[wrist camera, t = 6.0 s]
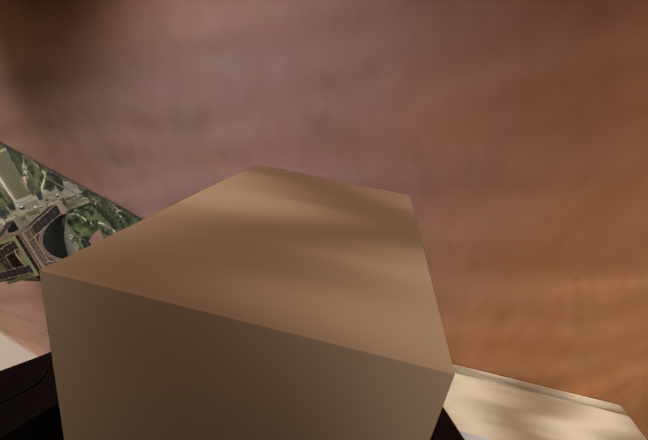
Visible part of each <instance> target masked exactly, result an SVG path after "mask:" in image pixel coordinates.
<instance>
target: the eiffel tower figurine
mask: <svg viewBox="0 0 648 440" xmlns="http://www.w3.org/2000/svg"><path fill="white" fill-rule="evenodd" d="M141 220H142V219H141V218H139V217H137V216H135V215H134V214H132V213H130V212H128V211H127V210H125V209H123V208H121V207H120V206H118V205H116V204H114V203H112V202H110V201H109V200H107V199H105V198H103V197H101V196H99V195H97V194H95V193H93V192H91V191H89V190H87V189H85V188H83V187H81V186H79V185H77V184H75V183H74V182H72V181H70V180H68V179H66V178H64V177H62V176H60V175H59V174H57V173H55V172H53V171H51V170H49V169H47V168H46V167H44V166H42V165H40V164H38V163H36V162H35V161H33V160H31V159H29V158H27V157H26V156H24V155H22V154H20V153H18V152H17V151H15V150H13V149H11V148H10V147H8V146H6V145H4V144H3V143H1V142H0V282H3V281H6V282H7V284H11V283H14V282H18V281H21V280H23V281H40V282H41V279H40V273H39V270H41V269H43V268H45V267H47V266H49V265H51V264H53V263H55V262H57V261H59V260H61V259H63V258H65V257H67V256H70V255H72V254H74V253H76V252H78V251H80V250H82V249H84V248H86V247H88V246H90V245H91V244H90V243H89V239H90V238H91V237H92V235H93V234H94V232H96V231H97V230H98V229H100V230H101V233H102V235H103V239H104V238H106V237H108V236H111V235H113V234H115V233H117V232H119V231H121V230H123V229H125V228H127V227H129V226H131V225H133V224H135V223H137V222H139V221H141ZM14 251H16V253H17V254H18V256H19V257H20V259H21V261H22V262H23V264H24V265H25V266H24V265H23V264H22V263H21V262H20V261H19V260H18V258H17V257H16V255H15V253H14Z"/></svg>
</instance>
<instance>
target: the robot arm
mask: <svg viewBox="0 0 648 440" xmlns="http://www.w3.org/2000/svg"><path fill="white" fill-rule="evenodd" d="M0 440H64V435H63V429H62V422H61V415H60V408H59V402H58V395H57V388H56V381H55V374H54V368H53V361H52V354H51V352H50V353H47V354H44V355H42V356H39V357H37V358H34V359H32V360H29V361H26V362H23V363H21V364H18V365H15V366H12V367H10V368H7V369H4V370H2V371H0ZM430 440H465V439H464V438H463V436H462V435H461V433H460V431H459V430H458V428H457V427H456V425H455V424H454V422H453V421H452V419H451V418H450V416H449V415H448V413H447V412H446V410H445V409H444V407H442V410H441V412H440V415H439V418H438V420H437V423H436V425H435V428H434V431H433V433H432V436H431V439H430Z"/></svg>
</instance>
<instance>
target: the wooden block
mask: <svg viewBox="0 0 648 440" xmlns="http://www.w3.org/2000/svg"><path fill="white" fill-rule="evenodd" d="M39 273H40V279H41V286H42V293H43V300H44V307H45V313H46V320H47V327H48V334H49V340H50V347H51V354H52V361H53V368H54V374H55V381H56V388H57V395H58V402H59V408H60V415H61V422H62V429H63V435H64V440H430V439H431V436H432V433H433V431H434V428H435V425H436V423H437V420H438V418H439V415H440V412H441V410H442V407H443V404H444V402H445V399H446V397H447V394H448V391H449V389H450V386H451V383H452V381H453V378H454V375H455V373H454V369H453V365H452V361H451V357H450V353H449V349H448V345H447V341H446V337H445V333H444V329H443V325H442V321H441V317H440V313H439V309H438V306H437V302H436V298H435V294H434V290H433V286H432V282H431V278H430V274H429V270H428V266H427V262H426V258H425V254H424V250H423V246H422V242H421V238H420V234H419V230H418V226H417V222H416V218H415V214H414V210H413V206H412V202H411V198H410V195H406V194H401V193H396V192H391V191H386V190H381V189H376V188H371V187H366V186H361V185H356V184H351V183H346V182H341V181H336V180H331V179H326V178H321V177H316V176H311V175H306V174H301V173H296V172H291V171H286V170H281V169H276V168H271V167H266V166H261V165H254V166H252V167H250V168H248V169H246V170H244V171H242V172H240V173H238V174H236V175H234V176H231V177H229V178H227V179H225V180H223V181H221V182H219V183H217V184H215V185H213V186H211V187H209V188H207V189H205V190H203V191H201V192H199V193H197V194H195V195H193V196H190V197H188V198H186V199H184V200H182V201H180V202H178V203H176V204H174V205H172V206H170V207H168V208H166V209H164V210H162V211H160V212H158V213H156V214H154V215H152V216H149V217H147V218H145V219H143V220H141V221H139V222H137V223H135V224H133V225H131V226H129V227H127V228H125V229H123V230H121V231H119V232H117V233H115V234H113V235H111V236H108V237H106V238H104V239H102V240H100V241H98V242H96V243H94V244H92V245H90V246H88V247H86V248H84V249H82V250H80V251H78V252H76V253H74V254H72V255H70V256H67V257H65V258H63V259H61V260H59V261H57V262H55V263H53V264H51V265H49V266H47V267H45V268H43V269H41V270H39Z"/></svg>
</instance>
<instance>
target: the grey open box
mask: <svg viewBox="0 0 648 440" xmlns="http://www.w3.org/2000/svg"><path fill="white" fill-rule="evenodd" d="M452 365H453V369H454V373H455V375H454V378H453V381H452V383H451V386H450V389H449V391H448V394H447V397H446V399H445V402H444V404H443V407H444V409H445V410H446V412H447V413H448V415H449V416H450V418H451V419H452V421H453V422H454V424H455V425H456V427H457V428H458V430H459V431H460V433H461V435H462V436H463V438H464V439H465V440H647V439H646V438H645V437H644V435H643V434H642V433H641V432H640V430H639V429H638V428H637V426H636V425H635V424H634V423H633V421H632V420H631V419H630V417H629V416H628V415H627V413H626V412H625V411H624V410H623V408H622V407H621V406H620V405H617V404H613V403H609V402H605V401H601V400H597V399H593V398H589V397H585V396H581V395H577V394H572V393H568V392H564V391H560V390H556V389H552V388H548V387H544V386H540V385H536V384H532V383H528V382H524V381H519V380H515V379H511V378H507V377H503V376H499V375H495V374H491V373H487V372H483V371H479V370H475V369H470V368H466V367H462V366H458V365H454V364H452Z"/></svg>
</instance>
